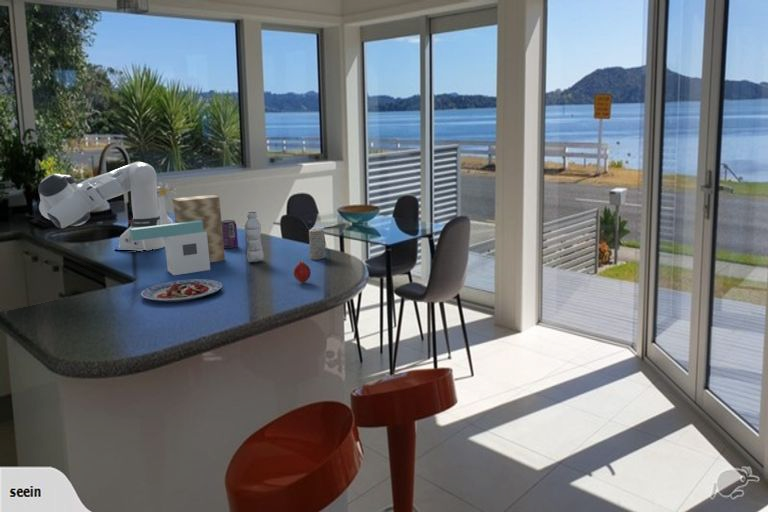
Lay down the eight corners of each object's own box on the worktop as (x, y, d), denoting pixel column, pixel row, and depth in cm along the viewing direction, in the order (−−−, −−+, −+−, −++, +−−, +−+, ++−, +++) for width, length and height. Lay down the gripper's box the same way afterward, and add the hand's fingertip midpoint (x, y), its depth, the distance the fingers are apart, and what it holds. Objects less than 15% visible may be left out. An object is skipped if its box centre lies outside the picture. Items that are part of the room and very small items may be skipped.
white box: (173, 275, 248) (169, 237, 245) (167, 271, 256) (163, 234, 253) (210, 269, 255) (206, 232, 252) (203, 265, 263) (200, 229, 259)
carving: (310, 261, 263) (308, 231, 261) (309, 257, 270) (307, 228, 268) (326, 260, 264) (324, 230, 261) (325, 256, 271) (323, 227, 269)
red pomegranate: (294, 281, 231) (293, 259, 230) (311, 280, 232) (309, 258, 230) (294, 285, 226) (292, 262, 224) (311, 284, 226) (309, 262, 225)
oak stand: (185, 265, 263) (178, 200, 258) (179, 261, 272) (172, 198, 266) (225, 260, 271) (219, 196, 266) (217, 256, 280) (211, 194, 274)
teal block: (133, 240, 241) (132, 230, 240) (130, 239, 244) (129, 228, 243) (203, 231, 254) (202, 221, 254) (200, 230, 258) (199, 220, 257)
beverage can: (240, 245, 301) (238, 219, 299) (235, 248, 294) (233, 222, 292) (225, 245, 302) (222, 219, 299) (219, 249, 295) (217, 222, 292)
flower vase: (142, 230, 354) (137, 183, 349) (177, 226, 364) (172, 180, 359) (149, 233, 344) (143, 185, 338) (184, 228, 353) (179, 182, 348)
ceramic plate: (162, 285, 235) (161, 277, 234) (233, 284, 232) (232, 276, 231) (127, 306, 209) (126, 297, 209) (205, 305, 207) (204, 296, 206)
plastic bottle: (267, 260, 267) (263, 211, 263) (258, 264, 261) (254, 214, 257) (253, 259, 270) (249, 211, 265) (244, 263, 263) (240, 213, 259)
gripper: (93, 199, 249) (125, 178, 253) (102, 204, 231) (135, 182, 236) (82, 185, 246) (114, 164, 250) (90, 190, 229) (124, 167, 233)
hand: (124, 173), depth 243 cm, fingers open, 8 cm apart
